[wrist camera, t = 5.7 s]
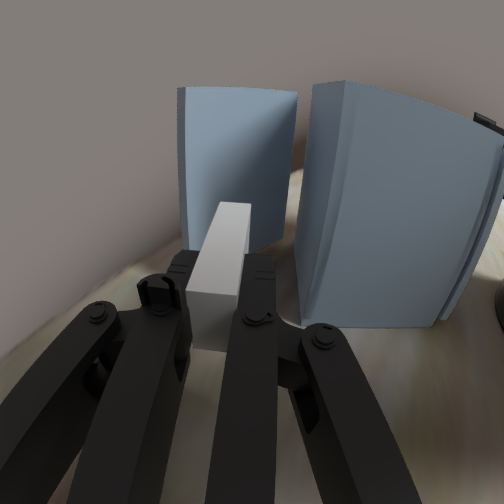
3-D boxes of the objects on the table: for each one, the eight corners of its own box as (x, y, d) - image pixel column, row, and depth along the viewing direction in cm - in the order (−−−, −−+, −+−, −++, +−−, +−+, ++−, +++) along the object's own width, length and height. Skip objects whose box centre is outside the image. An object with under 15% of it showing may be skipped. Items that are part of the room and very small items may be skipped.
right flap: (274, 234, 25) (288, 91, 19) (282, 238, 25) (297, 92, 18) (185, 279, 19) (176, 87, 13) (192, 285, 19) (185, 87, 12)
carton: (401, 253, 25) (436, 115, 18) (442, 327, 17) (516, 143, 9) (293, 243, 26) (312, 84, 18) (301, 326, 17) (345, 80, 10)
